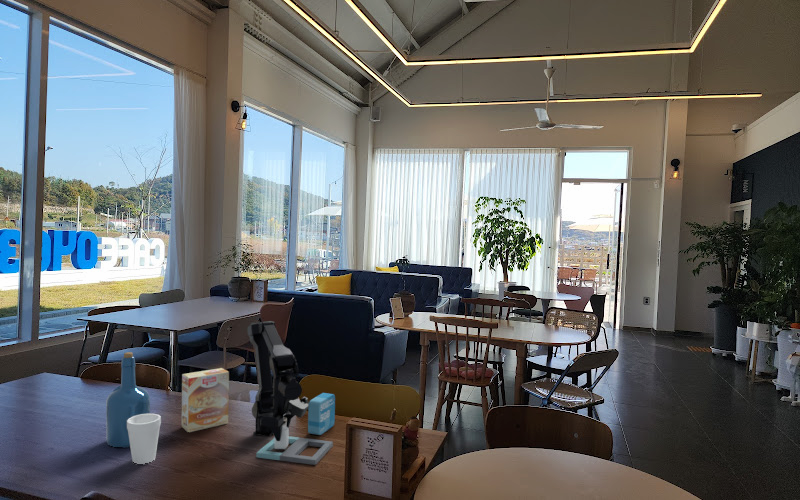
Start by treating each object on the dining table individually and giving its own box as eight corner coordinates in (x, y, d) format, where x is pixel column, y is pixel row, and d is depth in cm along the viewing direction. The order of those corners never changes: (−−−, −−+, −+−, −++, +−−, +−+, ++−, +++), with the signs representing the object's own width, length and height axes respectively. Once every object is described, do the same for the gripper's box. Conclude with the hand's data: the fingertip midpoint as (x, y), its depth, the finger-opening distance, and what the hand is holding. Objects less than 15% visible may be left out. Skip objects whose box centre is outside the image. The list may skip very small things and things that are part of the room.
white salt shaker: (286, 450, 175) (286, 421, 175) (273, 449, 175) (274, 420, 175) (289, 445, 179) (289, 416, 179) (277, 444, 179) (277, 416, 179)
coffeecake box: (188, 433, 190) (188, 378, 189) (180, 427, 195) (181, 373, 194) (229, 423, 200) (229, 371, 199) (221, 418, 205) (221, 367, 204)
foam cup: (127, 469, 161) (127, 426, 161) (126, 457, 169) (126, 416, 169) (161, 463, 166) (161, 421, 165) (159, 451, 174) (159, 411, 173)
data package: (318, 436, 189) (319, 402, 188) (307, 434, 190) (308, 401, 190) (334, 425, 200) (335, 393, 200) (324, 423, 202) (324, 391, 201)
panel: (256, 457, 171) (256, 452, 171) (277, 439, 186) (277, 435, 186) (315, 464, 167) (315, 460, 166) (332, 446, 181) (332, 441, 181)
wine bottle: (156, 441, 182) (156, 353, 180) (114, 453, 172) (114, 359, 171) (140, 430, 191) (140, 346, 190) (99, 440, 181) (99, 352, 180)
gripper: (292, 402, 166) (292, 452, 166) (316, 385, 184) (315, 430, 184) (259, 399, 168) (259, 448, 169) (286, 382, 186) (285, 427, 187)
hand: (281, 438), depth 177 cm, fingers closed on white salt shaker, 4 cm apart
